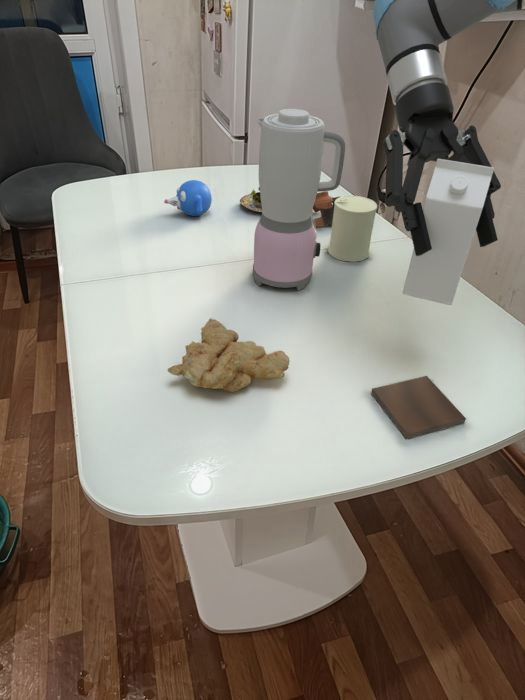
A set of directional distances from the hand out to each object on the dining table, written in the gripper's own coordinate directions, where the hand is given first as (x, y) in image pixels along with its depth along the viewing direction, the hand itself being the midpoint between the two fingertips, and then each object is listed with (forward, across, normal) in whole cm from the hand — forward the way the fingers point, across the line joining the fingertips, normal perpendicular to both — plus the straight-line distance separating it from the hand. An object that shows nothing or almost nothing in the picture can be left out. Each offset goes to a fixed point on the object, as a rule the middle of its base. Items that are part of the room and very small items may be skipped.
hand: (457, 248), depth 70 cm
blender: (-8, +10, -40) cm, 42 cm away
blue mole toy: (-33, +23, -65) cm, 77 cm away
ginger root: (+10, +31, -22) cm, 39 cm away
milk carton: (+4, 0, -8) cm, 9 cm away
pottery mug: (-26, -9, -58) cm, 64 cm away
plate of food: (-33, +4, -65) cm, 73 cm away
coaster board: (+21, +5, -11) cm, 24 cm away
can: (-13, -7, -45) cm, 47 cm away
